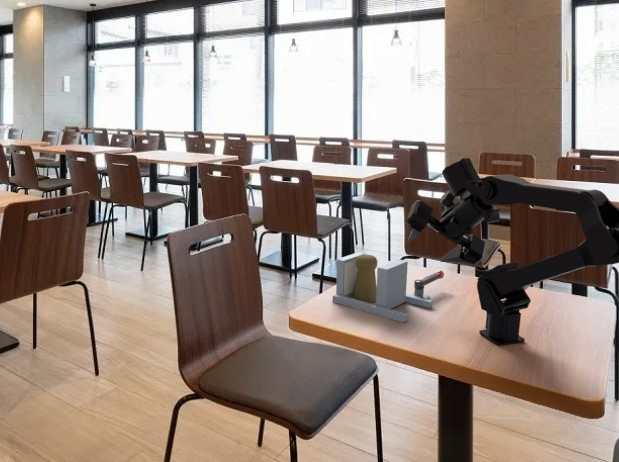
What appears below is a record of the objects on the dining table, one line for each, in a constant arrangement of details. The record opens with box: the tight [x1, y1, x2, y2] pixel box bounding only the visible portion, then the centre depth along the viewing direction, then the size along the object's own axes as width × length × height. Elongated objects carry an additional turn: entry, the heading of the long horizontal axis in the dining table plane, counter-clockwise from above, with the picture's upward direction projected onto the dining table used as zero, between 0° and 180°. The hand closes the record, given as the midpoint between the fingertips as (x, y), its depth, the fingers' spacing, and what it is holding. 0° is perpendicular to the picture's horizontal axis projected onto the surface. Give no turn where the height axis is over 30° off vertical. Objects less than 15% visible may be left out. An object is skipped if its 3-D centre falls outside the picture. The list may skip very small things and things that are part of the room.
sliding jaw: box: [375, 259, 409, 310], centre depth 124 cm, size 3×9×10 cm, turn 140°
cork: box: [352, 254, 378, 304], centre depth 129 cm, size 6×6×11 cm
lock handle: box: [413, 269, 445, 289], centre depth 134 cm, size 13×2×2 cm, turn 139°
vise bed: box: [332, 251, 433, 323], centre depth 128 cm, size 20×18×10 cm
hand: (425, 249), depth 125 cm, fingers open, 9 cm apart
